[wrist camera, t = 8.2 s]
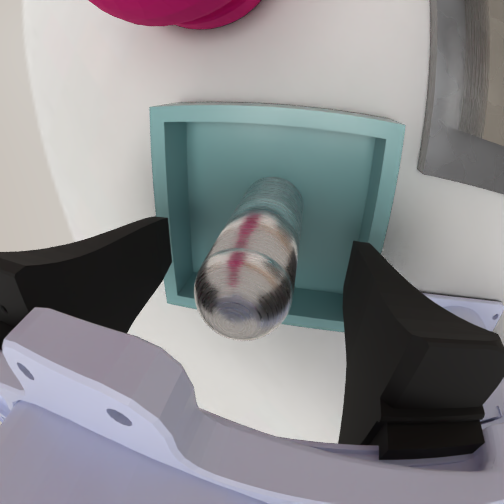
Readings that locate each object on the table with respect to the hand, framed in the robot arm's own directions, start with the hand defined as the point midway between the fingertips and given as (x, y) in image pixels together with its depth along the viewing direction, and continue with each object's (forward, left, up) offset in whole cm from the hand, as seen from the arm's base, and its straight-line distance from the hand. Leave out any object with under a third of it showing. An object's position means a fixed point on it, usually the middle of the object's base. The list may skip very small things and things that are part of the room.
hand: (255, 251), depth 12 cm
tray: (0, 0, -5) cm, 5 cm away
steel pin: (0, 0, -4) cm, 4 cm away
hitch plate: (+9, -12, -5) cm, 16 cm away
